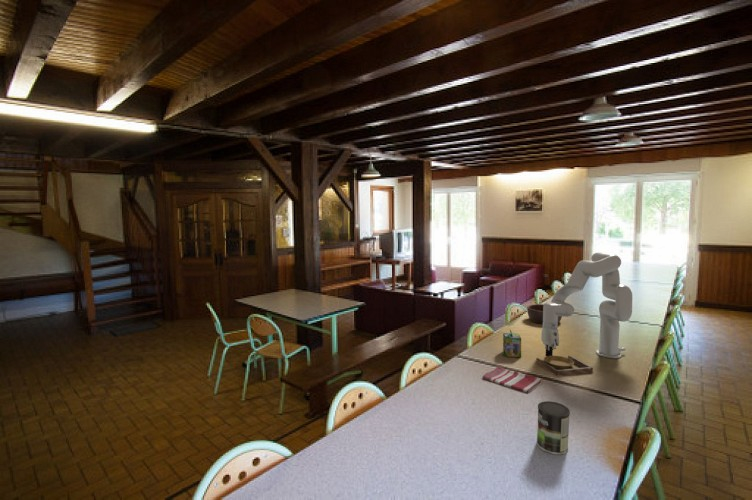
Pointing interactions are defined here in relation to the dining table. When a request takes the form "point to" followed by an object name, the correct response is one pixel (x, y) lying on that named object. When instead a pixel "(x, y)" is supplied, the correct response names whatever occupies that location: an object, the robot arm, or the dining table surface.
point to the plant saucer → (558, 362)
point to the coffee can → (553, 427)
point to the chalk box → (511, 345)
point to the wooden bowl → (537, 313)
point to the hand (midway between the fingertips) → (548, 356)
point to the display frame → (584, 369)
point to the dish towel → (513, 379)
